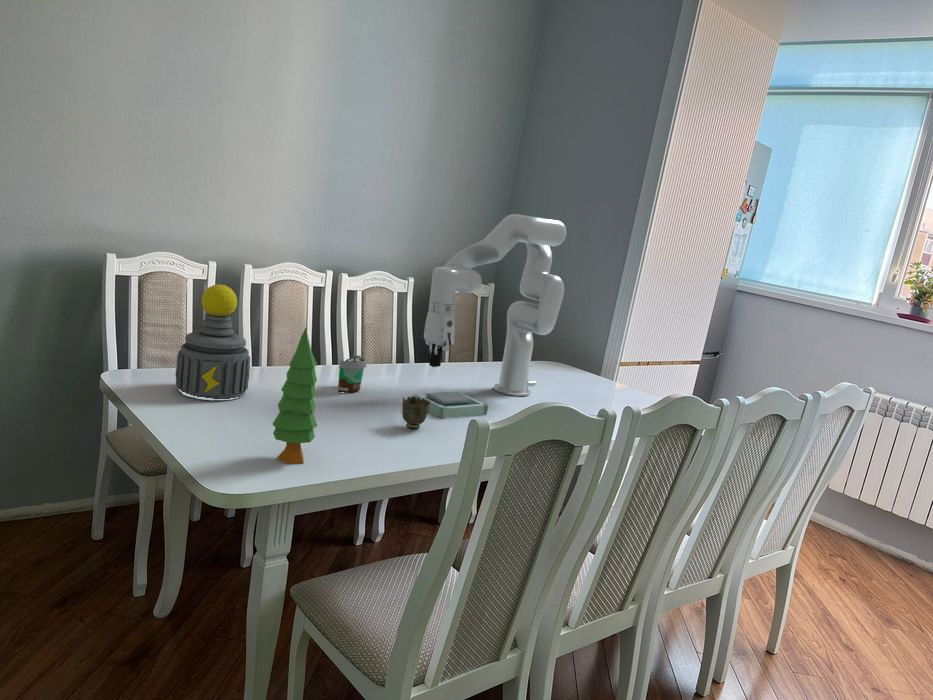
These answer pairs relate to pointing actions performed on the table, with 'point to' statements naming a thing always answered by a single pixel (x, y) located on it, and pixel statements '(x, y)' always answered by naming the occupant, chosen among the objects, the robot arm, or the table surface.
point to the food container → (351, 374)
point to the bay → (456, 408)
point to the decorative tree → (297, 404)
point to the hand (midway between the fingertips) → (434, 365)
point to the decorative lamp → (214, 351)
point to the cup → (414, 411)
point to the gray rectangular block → (448, 398)
